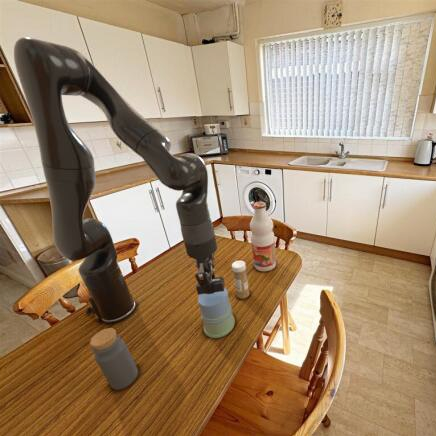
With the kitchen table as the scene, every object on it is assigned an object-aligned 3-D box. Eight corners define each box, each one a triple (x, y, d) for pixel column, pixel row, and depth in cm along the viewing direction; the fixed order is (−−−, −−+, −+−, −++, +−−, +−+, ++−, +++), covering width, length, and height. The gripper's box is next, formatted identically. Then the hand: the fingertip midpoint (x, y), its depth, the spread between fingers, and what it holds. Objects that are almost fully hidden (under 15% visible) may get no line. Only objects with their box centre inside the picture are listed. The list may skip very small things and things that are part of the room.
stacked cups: (201, 340, 69) (192, 309, 64) (206, 315, 77) (199, 286, 72) (233, 335, 70) (227, 304, 65) (235, 311, 78) (230, 282, 73)
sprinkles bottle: (251, 295, 85) (247, 264, 79) (239, 301, 82) (234, 269, 77) (246, 288, 88) (242, 258, 82) (234, 293, 86) (229, 262, 80)
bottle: (133, 362, 64) (113, 321, 57) (142, 375, 60) (122, 334, 54) (107, 379, 60) (83, 338, 53) (115, 395, 56) (90, 353, 50)
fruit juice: (281, 265, 100) (277, 203, 88) (263, 275, 95) (256, 210, 83) (267, 256, 107) (262, 197, 95) (249, 265, 101) (241, 204, 89)
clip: (198, 294, 66) (195, 285, 64) (199, 287, 68) (197, 278, 67) (223, 291, 67) (222, 282, 65) (224, 284, 69) (223, 275, 68)
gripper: (189, 225, 66) (202, 275, 73) (176, 252, 53) (192, 309, 61) (217, 222, 67) (226, 271, 74) (210, 248, 54) (222, 305, 62)
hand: (211, 288), depth 67 cm, fingers closed on clip, 3 cm apart
